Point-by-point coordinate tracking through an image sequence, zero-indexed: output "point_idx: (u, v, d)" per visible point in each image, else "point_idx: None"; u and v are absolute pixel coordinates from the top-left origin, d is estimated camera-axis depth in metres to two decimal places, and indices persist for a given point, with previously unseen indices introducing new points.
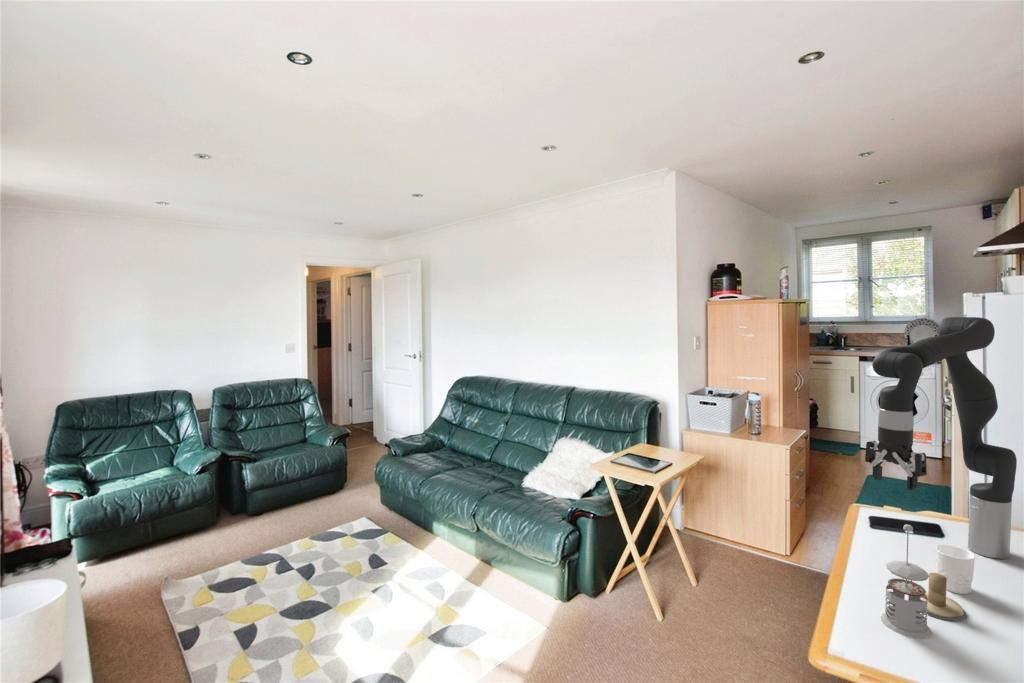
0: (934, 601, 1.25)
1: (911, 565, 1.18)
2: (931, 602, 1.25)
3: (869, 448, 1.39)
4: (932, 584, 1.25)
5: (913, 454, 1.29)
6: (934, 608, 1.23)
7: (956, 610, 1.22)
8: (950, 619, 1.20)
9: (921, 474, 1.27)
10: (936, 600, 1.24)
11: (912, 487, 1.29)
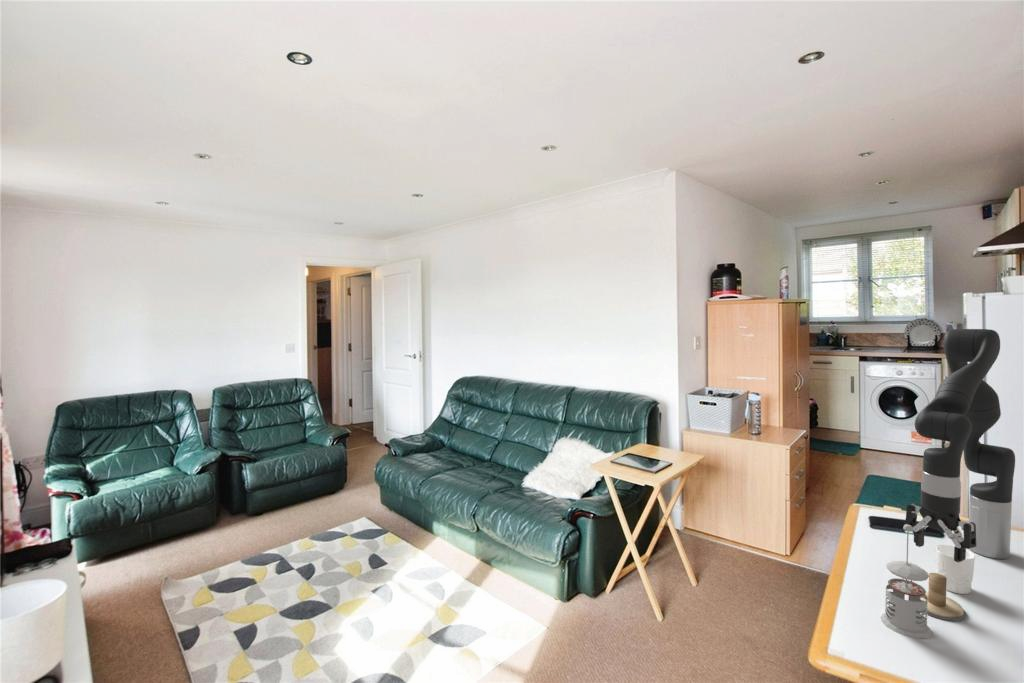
0: (934, 601, 1.25)
1: (911, 565, 1.18)
2: (931, 602, 1.25)
3: (910, 512, 1.29)
4: (932, 584, 1.25)
5: (961, 523, 1.19)
6: (934, 608, 1.23)
7: (956, 610, 1.22)
8: (950, 619, 1.20)
9: (971, 546, 1.17)
10: (936, 600, 1.24)
11: (960, 559, 1.20)
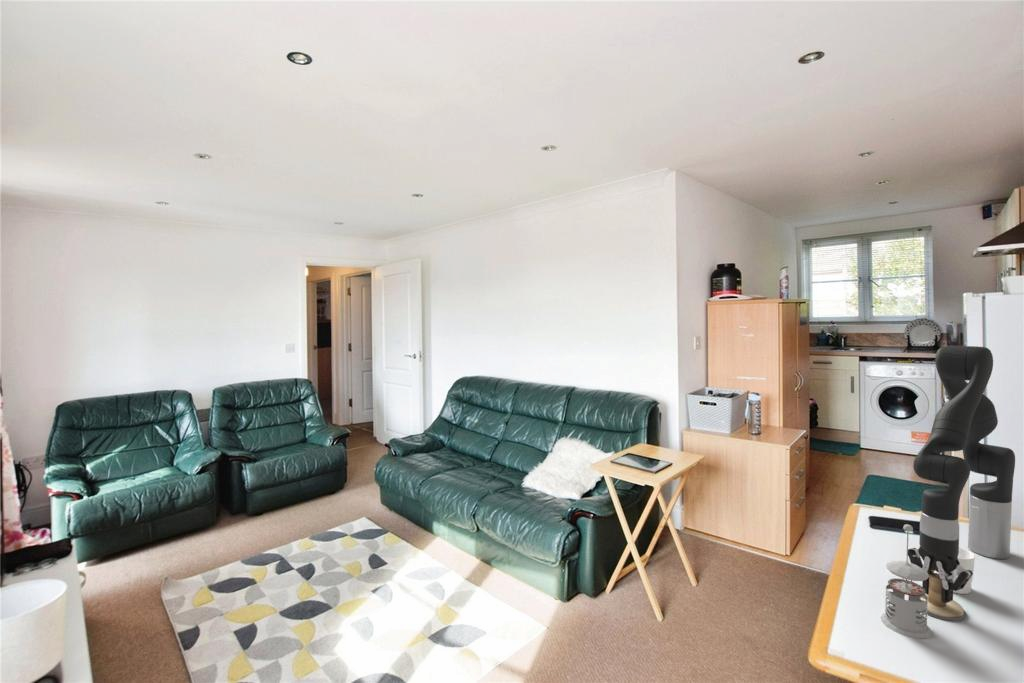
0: (934, 601, 1.25)
1: (911, 565, 1.18)
2: (931, 602, 1.25)
3: (912, 556, 1.29)
4: (932, 584, 1.25)
5: (959, 569, 1.20)
6: (934, 608, 1.23)
7: (956, 610, 1.22)
8: (950, 619, 1.20)
9: (958, 589, 1.20)
10: (936, 600, 1.24)
11: (947, 600, 1.23)
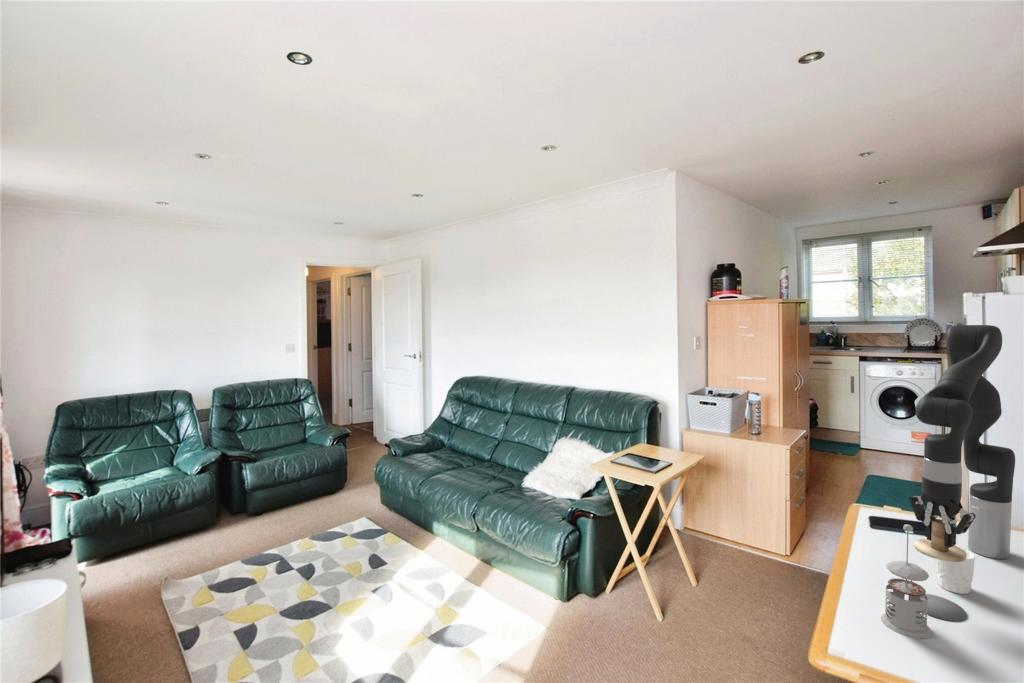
0: (937, 546, 1.24)
1: (911, 565, 1.18)
2: (934, 548, 1.25)
3: (914, 504, 1.29)
4: (935, 529, 1.24)
5: (962, 512, 1.20)
6: (937, 553, 1.23)
7: (959, 554, 1.22)
8: (950, 619, 1.20)
9: (961, 533, 1.20)
10: (939, 545, 1.24)
11: (950, 544, 1.22)
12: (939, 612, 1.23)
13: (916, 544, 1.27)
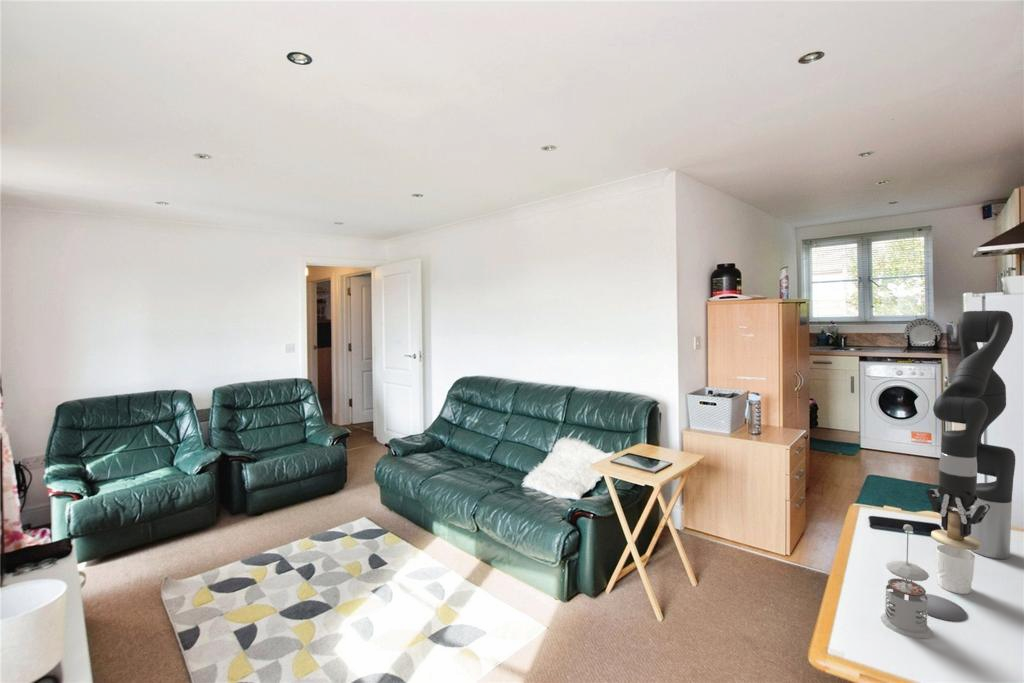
0: (953, 536, 1.32)
1: (911, 565, 1.18)
2: (950, 537, 1.33)
3: (931, 496, 1.37)
4: (951, 520, 1.32)
5: (977, 503, 1.28)
6: (953, 542, 1.31)
7: (974, 543, 1.30)
8: (950, 619, 1.20)
9: (976, 523, 1.28)
10: (955, 535, 1.32)
11: (966, 534, 1.30)
12: (939, 612, 1.23)
13: (933, 534, 1.36)
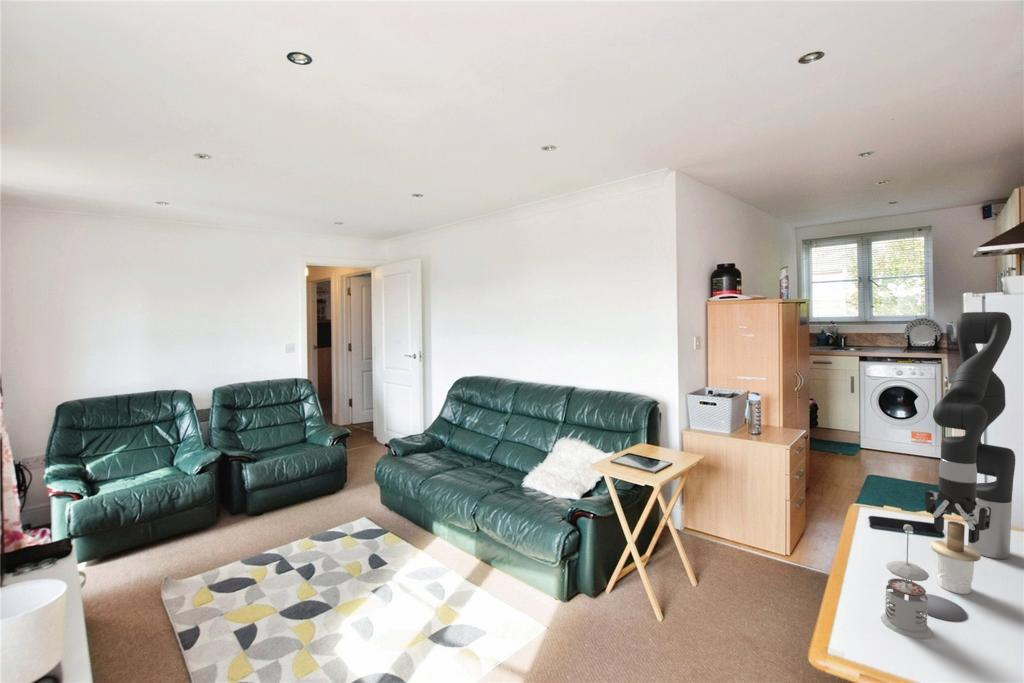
0: (953, 547, 1.32)
1: (911, 565, 1.18)
2: (950, 548, 1.33)
3: (929, 498, 1.38)
4: (951, 531, 1.32)
5: (977, 507, 1.28)
6: (953, 554, 1.31)
7: (974, 555, 1.30)
8: (950, 619, 1.20)
9: (984, 528, 1.26)
10: (955, 546, 1.32)
11: (974, 540, 1.29)
12: (939, 612, 1.23)
13: (933, 545, 1.36)
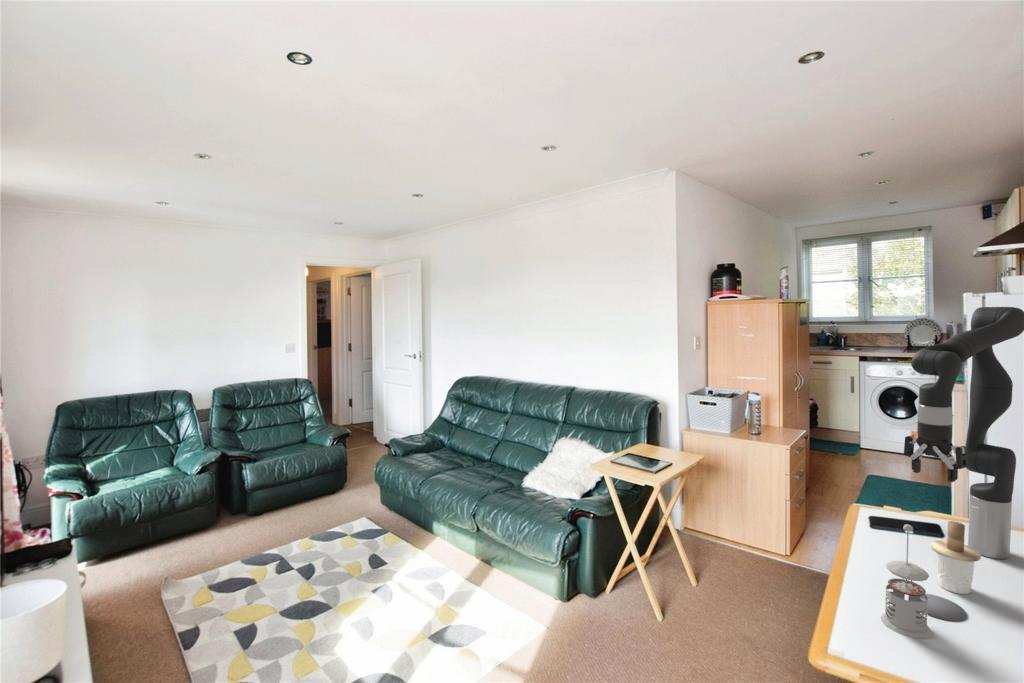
0: (953, 547, 1.32)
1: (911, 565, 1.18)
2: (950, 548, 1.33)
3: (908, 442, 1.45)
4: (951, 531, 1.32)
5: (953, 447, 1.35)
6: (953, 554, 1.31)
7: (974, 555, 1.30)
8: (950, 619, 1.20)
9: (962, 466, 1.33)
10: (955, 546, 1.32)
11: (953, 479, 1.35)
12: (939, 612, 1.23)
13: (933, 545, 1.36)
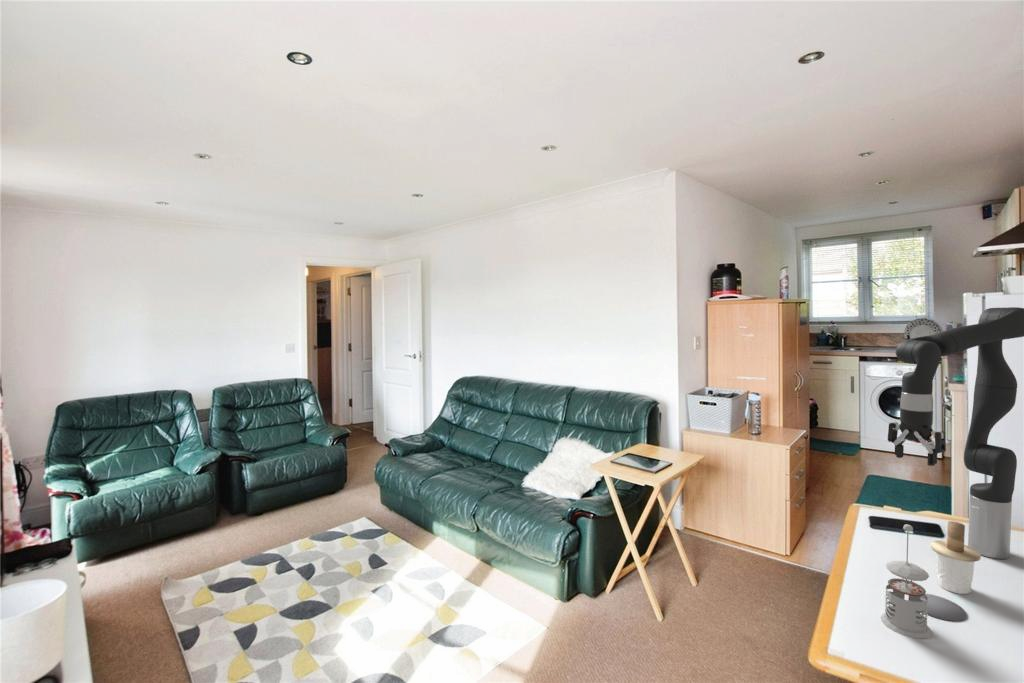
0: (953, 547, 1.32)
1: (911, 565, 1.18)
2: (950, 548, 1.33)
3: (891, 429, 1.52)
4: (951, 531, 1.32)
5: (933, 433, 1.42)
6: (953, 554, 1.31)
7: (974, 555, 1.30)
8: (950, 619, 1.20)
9: (941, 450, 1.40)
10: (955, 546, 1.32)
11: (932, 463, 1.42)
12: (939, 612, 1.23)
13: (933, 545, 1.36)
